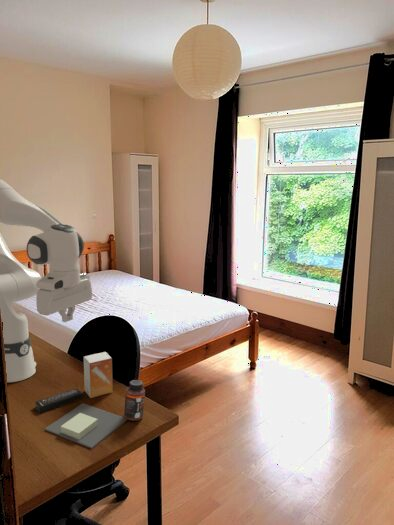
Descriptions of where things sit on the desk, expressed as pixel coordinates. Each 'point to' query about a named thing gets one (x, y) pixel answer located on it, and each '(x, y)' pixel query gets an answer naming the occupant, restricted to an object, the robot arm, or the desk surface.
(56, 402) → the multiport hub
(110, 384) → the small box
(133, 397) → the supplement bottle
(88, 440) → the mat
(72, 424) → the tile
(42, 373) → the desk surface
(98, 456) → the desk surface
